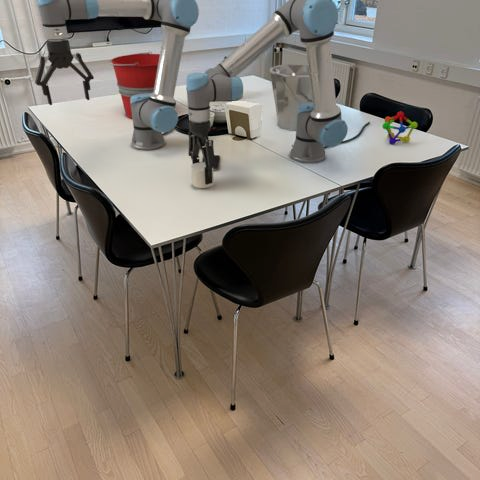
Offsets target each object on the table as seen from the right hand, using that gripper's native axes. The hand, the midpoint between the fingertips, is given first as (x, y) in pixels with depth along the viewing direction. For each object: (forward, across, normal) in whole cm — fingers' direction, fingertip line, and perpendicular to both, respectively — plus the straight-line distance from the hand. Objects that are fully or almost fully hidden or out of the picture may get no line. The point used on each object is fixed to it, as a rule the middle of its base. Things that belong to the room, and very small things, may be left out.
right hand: (202, 179), depth 168 cm
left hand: (-26, -39, -33) cm, 57 cm away
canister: (+2, 0, 0) cm, 2 cm away
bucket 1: (+3, -100, +24) cm, 103 cm away
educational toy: (+4, +10, +100) cm, 101 cm away
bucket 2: (+3, -37, +79) cm, 87 cm away
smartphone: (+3, -17, +14) cm, 23 cm away
